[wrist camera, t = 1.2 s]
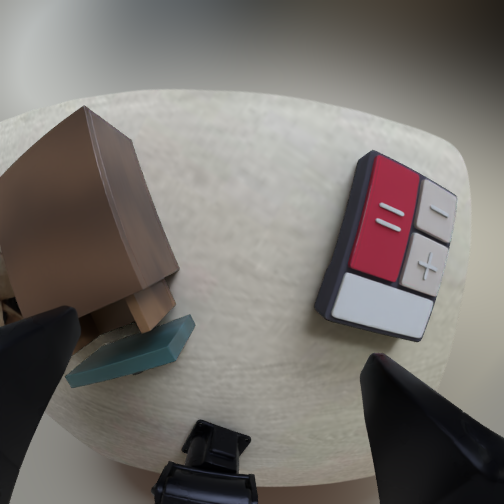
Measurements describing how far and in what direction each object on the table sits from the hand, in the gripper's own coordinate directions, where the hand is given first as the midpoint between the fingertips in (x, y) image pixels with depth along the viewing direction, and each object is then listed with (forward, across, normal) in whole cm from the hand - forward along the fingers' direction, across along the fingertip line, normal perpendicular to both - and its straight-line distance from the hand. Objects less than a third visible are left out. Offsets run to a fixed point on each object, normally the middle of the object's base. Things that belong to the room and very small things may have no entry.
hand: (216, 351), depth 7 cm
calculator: (+18, -14, +1) cm, 23 cm away
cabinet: (+17, +14, +3) cm, 22 cm away
